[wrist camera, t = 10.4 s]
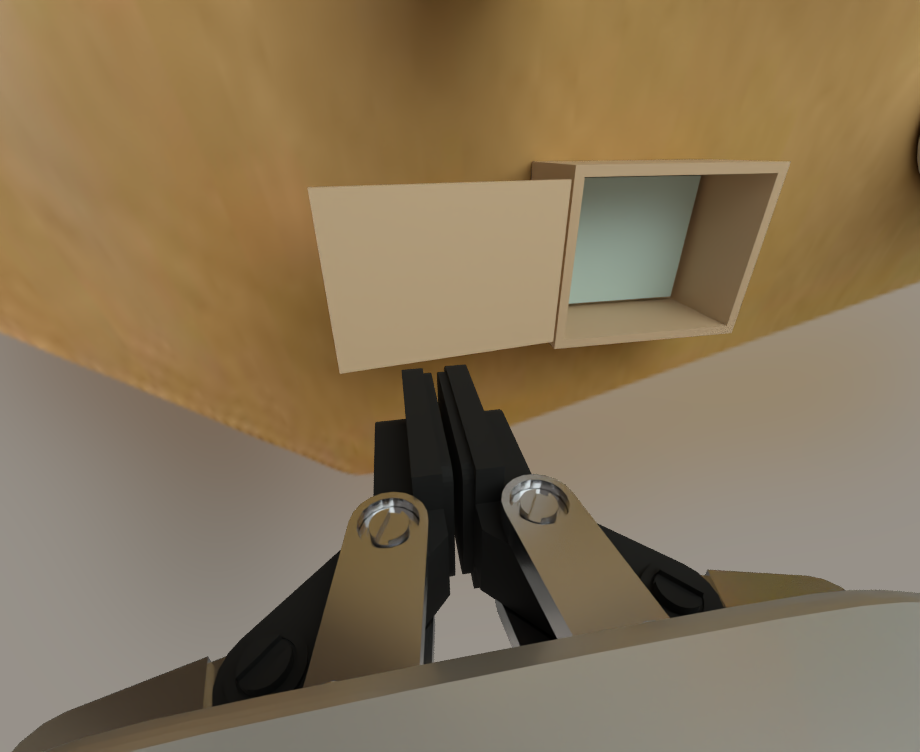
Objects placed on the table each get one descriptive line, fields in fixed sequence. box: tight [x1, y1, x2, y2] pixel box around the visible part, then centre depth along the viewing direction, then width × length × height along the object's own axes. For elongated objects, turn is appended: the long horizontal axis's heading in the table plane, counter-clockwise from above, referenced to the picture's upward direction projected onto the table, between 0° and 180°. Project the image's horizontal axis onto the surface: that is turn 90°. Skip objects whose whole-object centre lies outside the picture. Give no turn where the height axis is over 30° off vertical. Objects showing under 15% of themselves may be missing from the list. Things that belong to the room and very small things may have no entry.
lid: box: [308, 179, 572, 374], centre depth 23 cm, size 14×10×1 cm
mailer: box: [531, 159, 790, 349], centre depth 29 cm, size 14×11×7 cm
